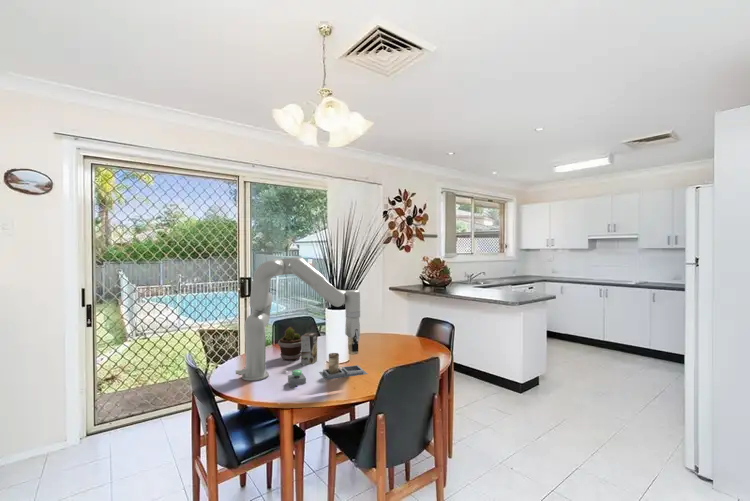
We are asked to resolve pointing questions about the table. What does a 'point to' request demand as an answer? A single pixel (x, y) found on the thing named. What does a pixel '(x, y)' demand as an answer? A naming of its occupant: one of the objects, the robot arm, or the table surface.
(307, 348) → the coffee box
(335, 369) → the cylinder
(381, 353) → the table surface
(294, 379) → the console
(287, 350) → the flowerpot
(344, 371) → the tray
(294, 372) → the button
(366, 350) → the table surface
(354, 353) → the cylinder
